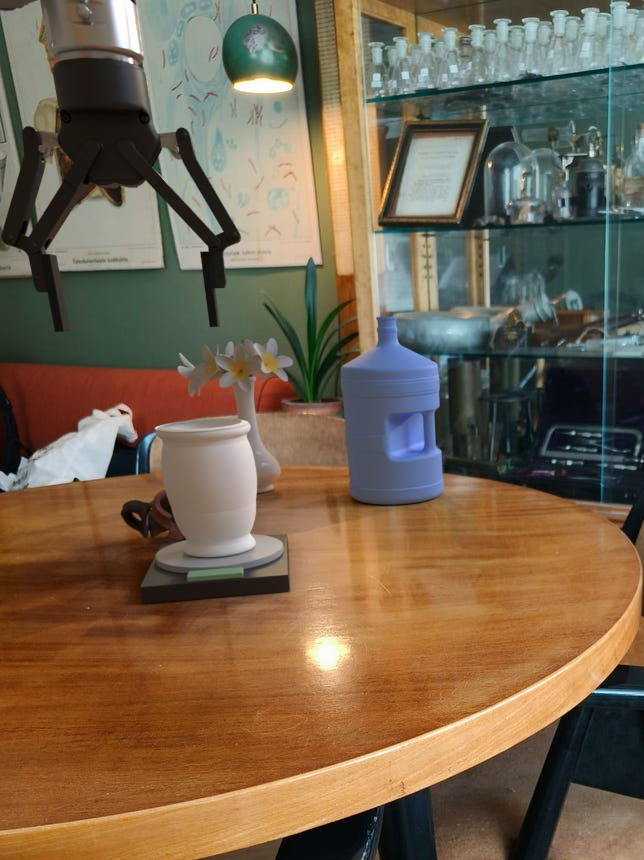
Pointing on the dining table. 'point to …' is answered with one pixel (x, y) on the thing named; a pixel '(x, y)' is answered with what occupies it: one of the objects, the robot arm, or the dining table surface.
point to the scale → (217, 572)
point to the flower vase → (242, 391)
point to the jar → (210, 484)
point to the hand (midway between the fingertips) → (140, 329)
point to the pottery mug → (152, 517)
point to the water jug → (391, 422)
